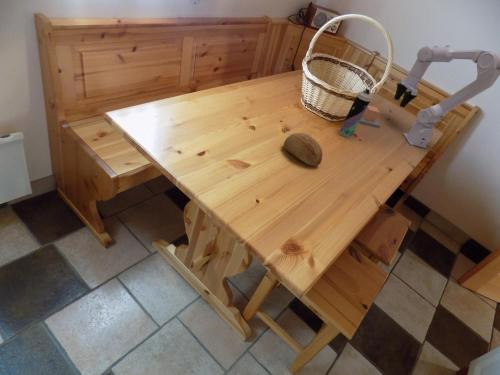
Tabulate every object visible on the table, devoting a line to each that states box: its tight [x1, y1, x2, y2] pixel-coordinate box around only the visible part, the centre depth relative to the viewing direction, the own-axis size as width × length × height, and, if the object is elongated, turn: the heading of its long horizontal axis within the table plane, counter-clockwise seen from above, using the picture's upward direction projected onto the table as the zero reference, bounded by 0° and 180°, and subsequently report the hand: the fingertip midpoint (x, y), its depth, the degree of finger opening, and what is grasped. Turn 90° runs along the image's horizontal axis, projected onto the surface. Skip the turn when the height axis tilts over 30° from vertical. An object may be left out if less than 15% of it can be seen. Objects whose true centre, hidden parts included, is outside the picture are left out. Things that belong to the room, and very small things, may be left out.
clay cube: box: [363, 104, 380, 122], centre depth 147 cm, size 5×5×5 cm
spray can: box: [339, 87, 372, 139], centre depth 127 cm, size 6×6×20 cm
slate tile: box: [358, 116, 381, 129], centre depth 149 cm, size 10×10×1 cm
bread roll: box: [283, 132, 323, 167], centre depth 108 cm, size 10×15×8 cm, turn 48°
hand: (398, 103), depth 149 cm, fingers open, 7 cm apart
